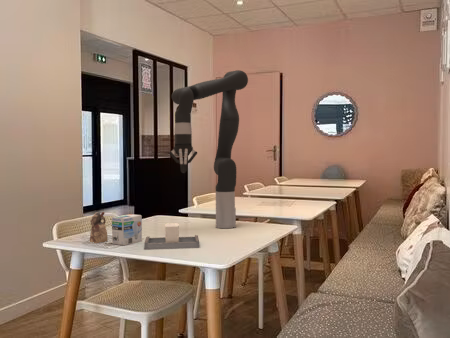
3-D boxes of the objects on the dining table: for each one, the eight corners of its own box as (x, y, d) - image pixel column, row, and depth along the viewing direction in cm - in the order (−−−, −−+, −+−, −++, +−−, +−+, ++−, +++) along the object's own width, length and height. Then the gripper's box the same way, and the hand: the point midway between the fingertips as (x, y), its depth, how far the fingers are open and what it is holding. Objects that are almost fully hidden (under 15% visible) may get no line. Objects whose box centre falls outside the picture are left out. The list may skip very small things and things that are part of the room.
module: (178, 243, 173) (178, 223, 173) (179, 247, 165) (178, 226, 165) (165, 243, 172) (165, 223, 172) (165, 247, 164) (165, 226, 164)
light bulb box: (123, 245, 168) (123, 218, 168) (111, 244, 172) (110, 216, 171) (142, 241, 177) (142, 214, 177) (130, 239, 181) (130, 213, 180)
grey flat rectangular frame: (197, 241, 176) (197, 235, 175) (199, 247, 164) (199, 241, 164) (146, 242, 173) (146, 236, 173) (144, 249, 162) (144, 242, 161)
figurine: (88, 240, 179) (87, 211, 179) (106, 239, 182) (105, 210, 181) (90, 243, 173) (89, 213, 172) (108, 242, 175) (108, 212, 175)
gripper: (197, 133, 196) (198, 172, 196) (168, 134, 194) (168, 172, 195) (198, 133, 188) (198, 173, 189) (167, 133, 187) (168, 173, 187)
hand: (183, 172), depth 192 cm, fingers closed
